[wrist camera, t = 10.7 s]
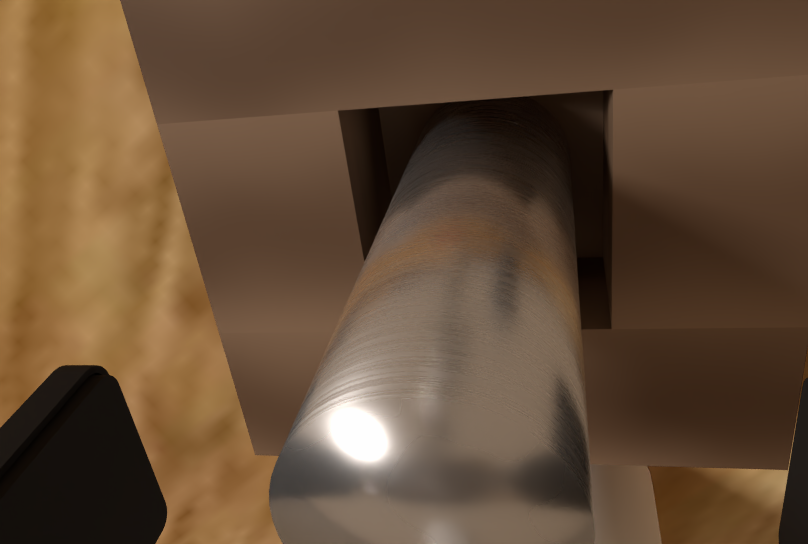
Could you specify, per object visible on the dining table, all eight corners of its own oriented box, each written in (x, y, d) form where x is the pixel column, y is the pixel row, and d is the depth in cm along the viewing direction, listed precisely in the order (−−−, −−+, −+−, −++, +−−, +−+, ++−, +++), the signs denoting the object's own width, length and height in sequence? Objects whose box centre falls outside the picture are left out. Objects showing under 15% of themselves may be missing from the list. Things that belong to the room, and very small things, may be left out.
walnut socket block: (199, -100, 19) (95, -83, 14) (802, -188, 16) (895, -198, 12) (305, 352, 25) (255, 454, 21) (743, 350, 22) (787, 469, 18)
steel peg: (406, 95, 19) (236, 397, 9) (568, 81, 18) (594, 399, 8) (424, 235, 21) (302, 621, 10) (571, 230, 20) (595, 642, 10)
